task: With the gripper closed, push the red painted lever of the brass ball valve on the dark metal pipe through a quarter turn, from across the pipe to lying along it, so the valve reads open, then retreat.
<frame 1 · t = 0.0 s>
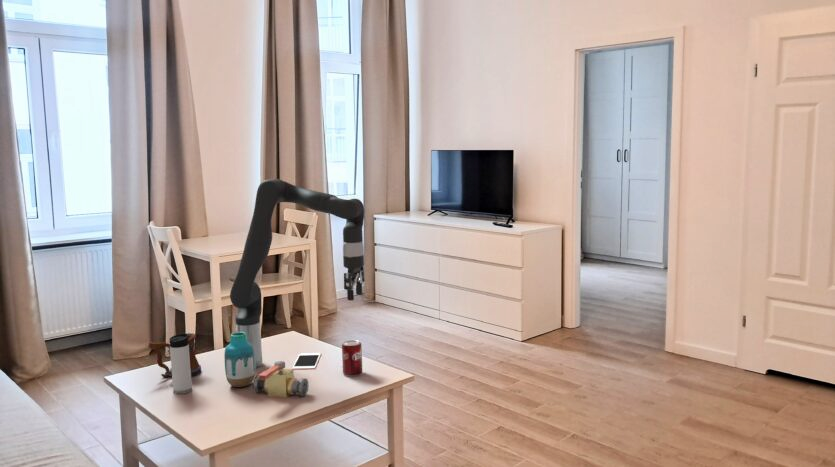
hand: (355, 297, 242), 29 cm above the table, fingers open, 8 cm apart
lever: (272, 370, 223), point 10 cm above the table, hinge at 0.0°
valve pipe: (281, 393, 229), on the table
travel mug: (183, 390, 234), on the table
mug: (176, 375, 250), on the table
soda can: (352, 374, 247), on the table
cell phone: (307, 363, 262), on the table
vase: (241, 385, 238), on the table
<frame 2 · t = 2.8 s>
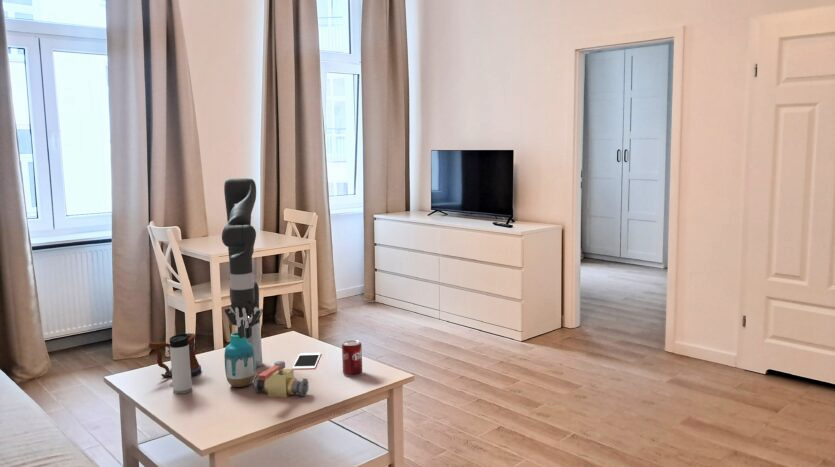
hand: (245, 337, 217), 23 cm above the table, fingers closed
nothing on the table moved.
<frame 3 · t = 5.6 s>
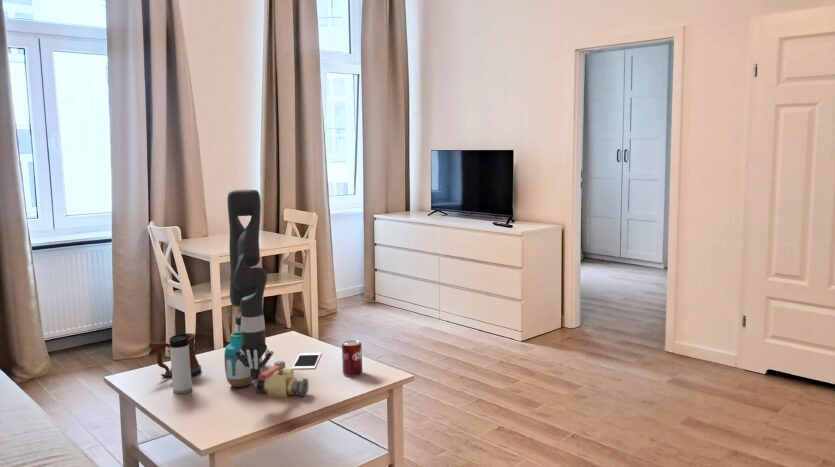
hand: (255, 378, 218), 9 cm above the table, fingers closed
lever: (272, 370, 223), point 10 cm above the table, hinge at 0.3°, touching gripper
everything else where it was.
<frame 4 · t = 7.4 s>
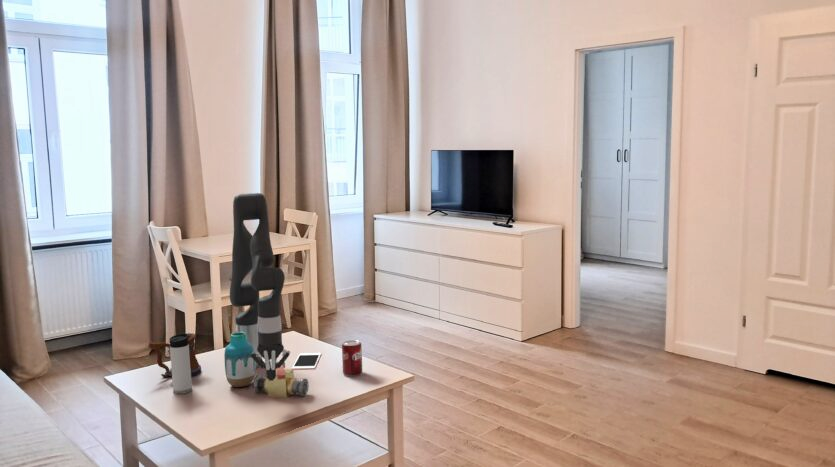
hand: (271, 379, 217), 9 cm above the table, fingers closed
lever: (280, 370, 222), point 10 cm above the table, hinge at 30.4°, touching gripper
everything else where it was.
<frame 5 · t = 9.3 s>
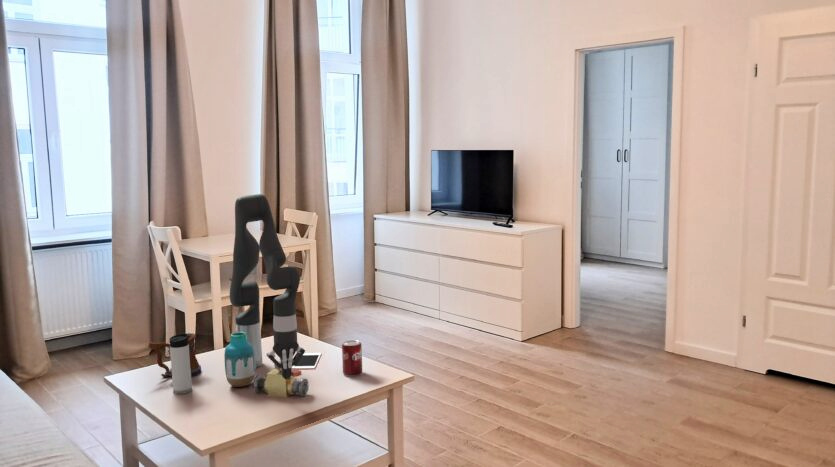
hand: (286, 378, 218), 9 cm above the table, fingers closed
lever: (287, 368, 224), point 10 cm above the table, hinge at 56.6°, touching gripper
everything else where it was.
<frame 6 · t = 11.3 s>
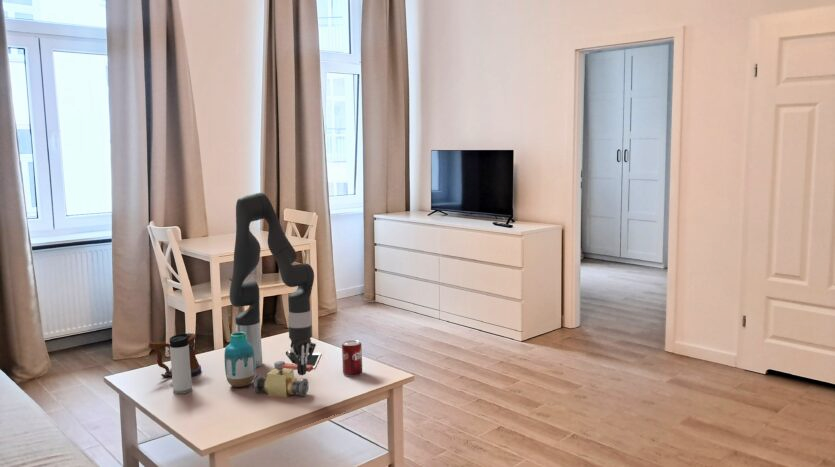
hand: (302, 374, 221), 9 cm above the table, fingers closed
lever: (293, 366, 226), point 10 cm above the table, hinge at 86.4°, touching gripper
everything else where it was.
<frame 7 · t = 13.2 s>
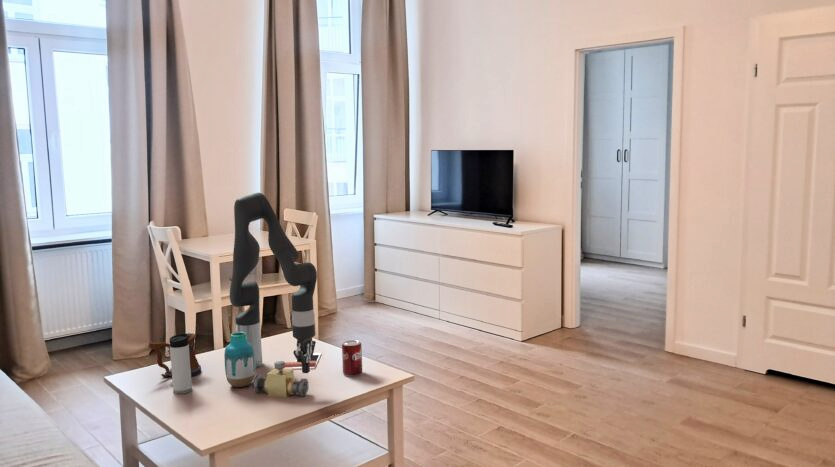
hand: (306, 372, 223), 9 cm above the table, fingers closed
lever: (295, 364, 228), point 10 cm above the table, hinge at 108.8°
everything else where it was.
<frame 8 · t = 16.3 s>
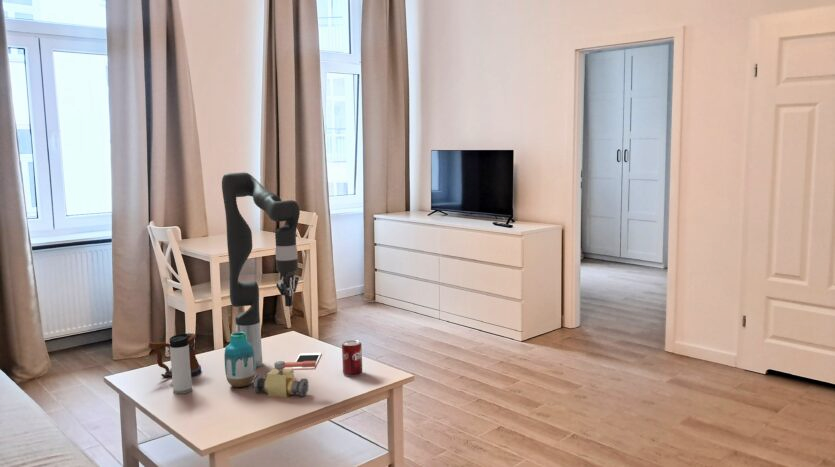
hand: (289, 305, 233), 29 cm above the table, fingers closed
nothing on the table moved.
at the end: lever at +109° (first picture: +0°); lever touching nothing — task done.
